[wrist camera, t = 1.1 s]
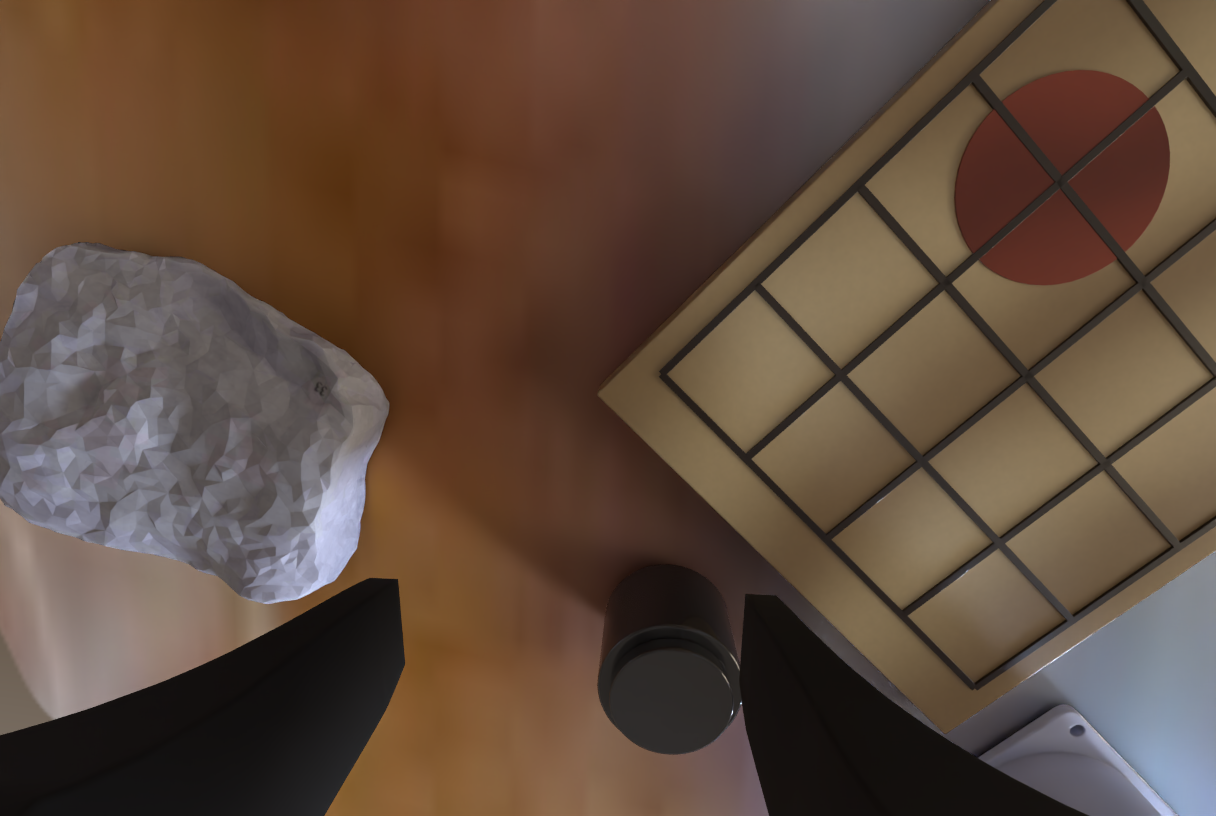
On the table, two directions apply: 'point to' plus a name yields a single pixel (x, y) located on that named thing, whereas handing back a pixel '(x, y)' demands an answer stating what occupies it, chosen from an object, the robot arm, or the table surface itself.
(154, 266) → the stone block
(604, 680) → the black canister
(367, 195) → the table surface
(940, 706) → the board
